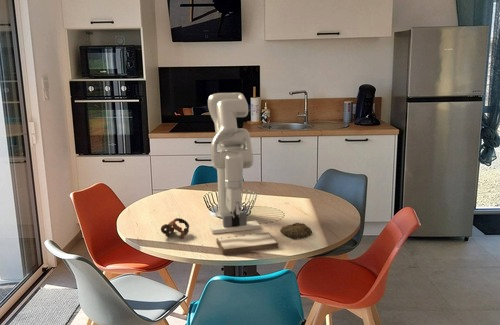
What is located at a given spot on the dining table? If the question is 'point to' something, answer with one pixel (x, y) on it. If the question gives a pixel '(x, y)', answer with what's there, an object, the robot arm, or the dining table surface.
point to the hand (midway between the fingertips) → (234, 224)
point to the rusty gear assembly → (175, 227)
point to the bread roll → (296, 231)
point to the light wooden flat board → (246, 243)
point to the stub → (229, 228)
